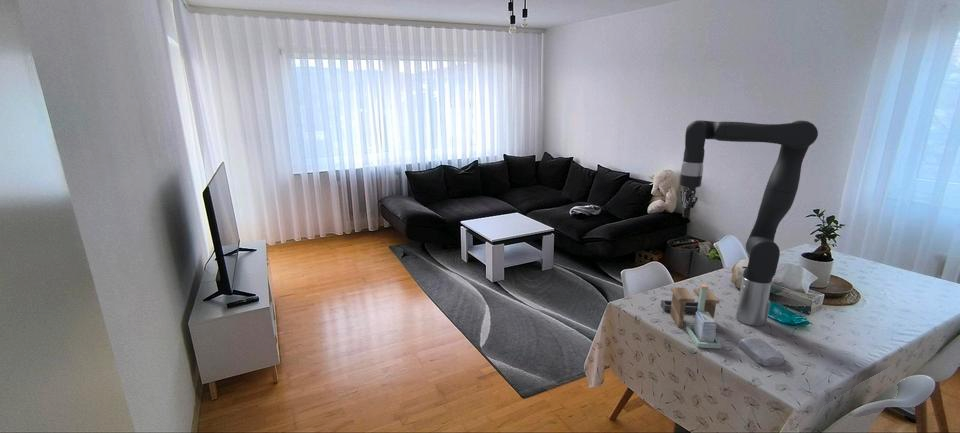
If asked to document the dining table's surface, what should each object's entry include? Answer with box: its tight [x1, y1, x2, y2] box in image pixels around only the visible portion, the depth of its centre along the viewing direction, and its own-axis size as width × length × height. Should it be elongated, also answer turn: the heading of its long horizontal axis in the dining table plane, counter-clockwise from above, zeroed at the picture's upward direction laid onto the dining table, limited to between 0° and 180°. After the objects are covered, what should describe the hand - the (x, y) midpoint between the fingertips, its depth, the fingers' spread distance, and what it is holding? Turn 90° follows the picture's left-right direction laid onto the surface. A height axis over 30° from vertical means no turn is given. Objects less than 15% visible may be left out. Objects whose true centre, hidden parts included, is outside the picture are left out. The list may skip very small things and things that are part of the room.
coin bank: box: [730, 258, 749, 290], centre depth 196 cm, size 16×17×13 cm
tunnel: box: [669, 286, 720, 329], centre depth 164 cm, size 14×10×12 cm
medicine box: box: [692, 312, 718, 343], centre depth 153 cm, size 8×4×9 cm, turn 173°
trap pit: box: [660, 299, 698, 314], centre depth 175 cm, size 15×5×2 cm, turn 83°
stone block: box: [738, 337, 785, 367], centre depth 144 cm, size 12×5×10 cm
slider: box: [685, 283, 723, 350], centre depth 151 cm, size 8×12×18 cm, turn 173°
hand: (685, 217), depth 171 cm, fingers closed
